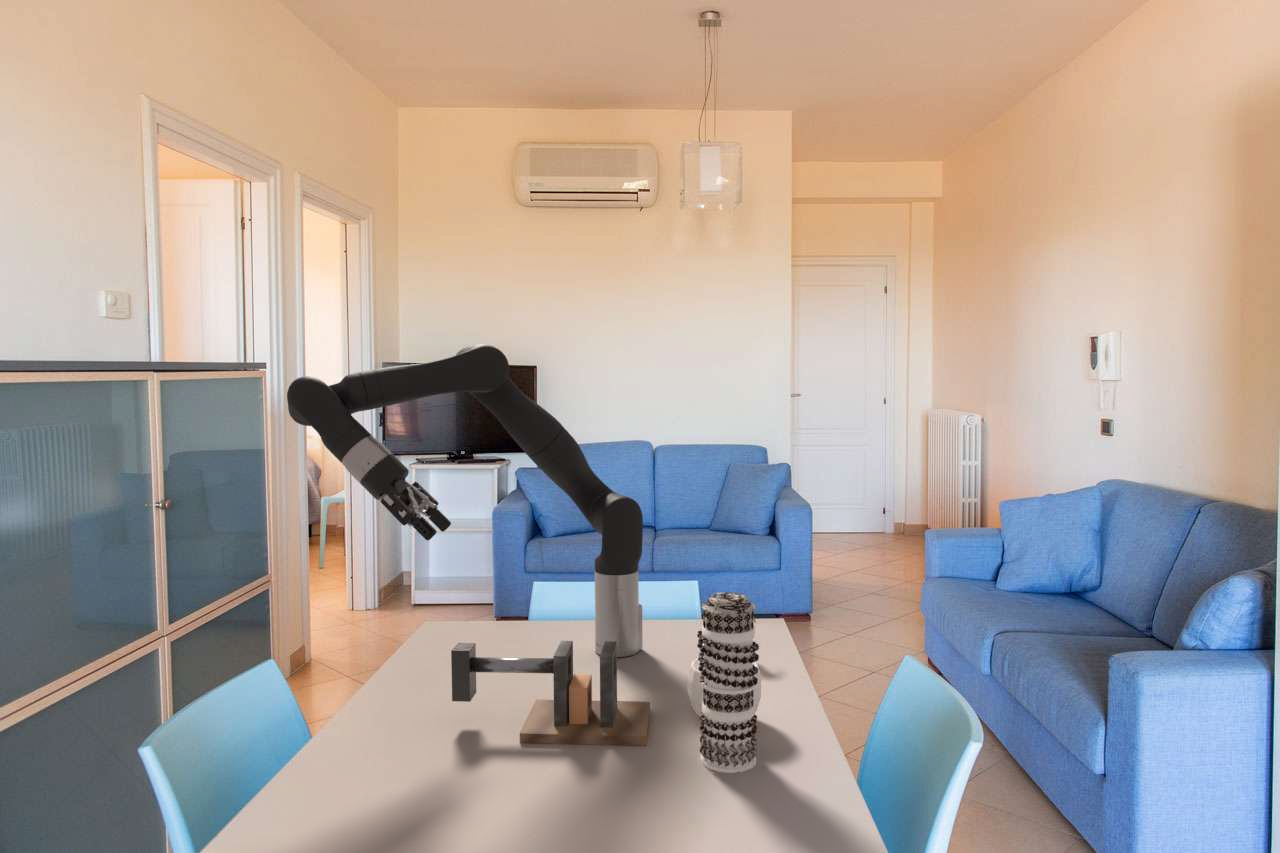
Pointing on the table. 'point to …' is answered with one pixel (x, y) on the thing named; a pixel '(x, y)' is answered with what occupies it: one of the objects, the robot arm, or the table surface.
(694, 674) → the cup
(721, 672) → the decorative candle
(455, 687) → the shaft
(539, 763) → the table surface
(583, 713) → the spacer
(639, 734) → the rig
